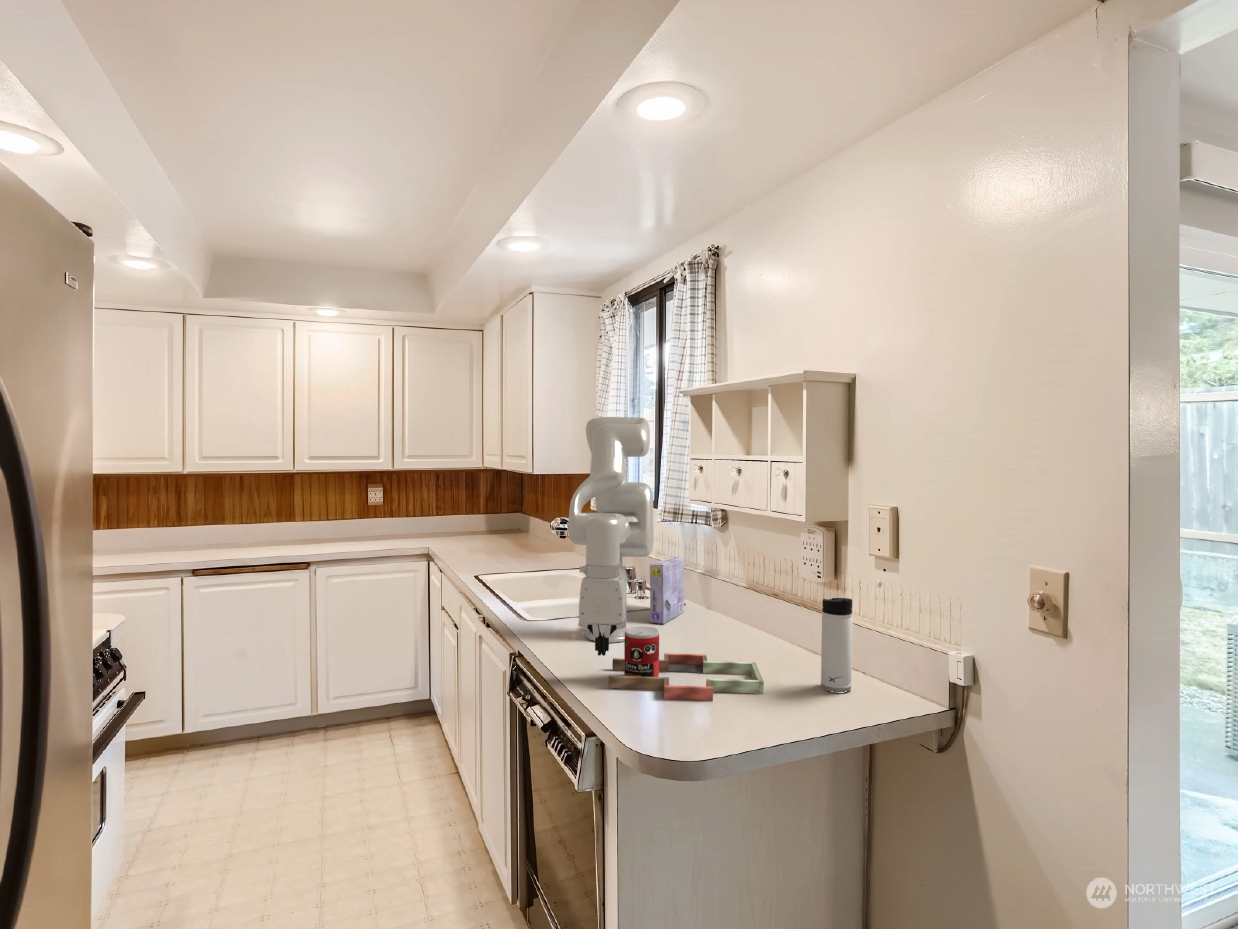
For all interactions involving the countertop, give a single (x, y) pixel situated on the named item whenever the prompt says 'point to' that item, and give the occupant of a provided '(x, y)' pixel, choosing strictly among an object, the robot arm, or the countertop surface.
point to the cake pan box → (666, 589)
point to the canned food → (641, 652)
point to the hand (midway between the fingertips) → (601, 653)
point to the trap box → (691, 665)
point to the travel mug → (836, 644)
